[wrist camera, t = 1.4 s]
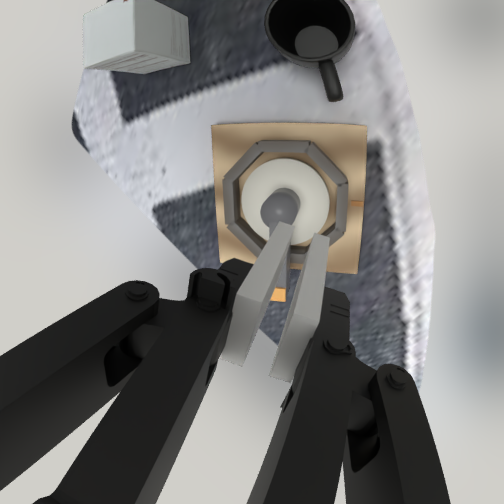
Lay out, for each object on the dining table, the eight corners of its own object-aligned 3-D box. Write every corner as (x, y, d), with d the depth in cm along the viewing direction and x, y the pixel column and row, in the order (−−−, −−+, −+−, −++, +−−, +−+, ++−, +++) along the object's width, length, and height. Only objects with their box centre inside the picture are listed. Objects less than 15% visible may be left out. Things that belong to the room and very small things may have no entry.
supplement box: (142, 29, 34) (82, 12, 23) (189, 16, 32) (135, -12, 21) (143, 75, 37) (80, 70, 26) (191, 65, 35) (134, 50, 24)
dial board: (217, 124, 37) (202, 125, 33) (365, 125, 33) (369, 126, 29) (225, 256, 44) (213, 270, 41) (356, 267, 40) (357, 283, 36)
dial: (243, 157, 36) (226, 164, 31) (330, 158, 33) (329, 166, 28) (248, 272, 42) (234, 296, 37) (325, 279, 39) (321, 305, 34)
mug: (300, 112, 34) (288, 109, 26) (274, 23, 30) (253, -3, 22) (368, 100, 32) (378, 92, 23) (339, 9, 28) (338, -22, 19)
